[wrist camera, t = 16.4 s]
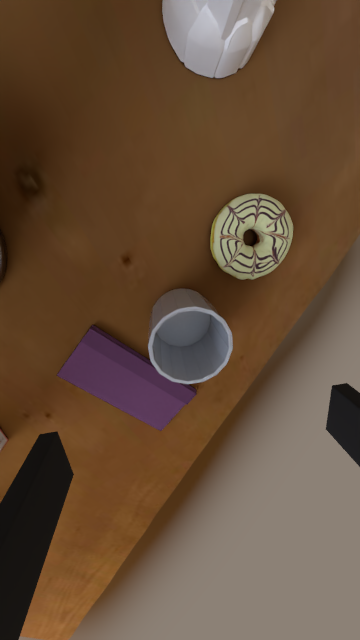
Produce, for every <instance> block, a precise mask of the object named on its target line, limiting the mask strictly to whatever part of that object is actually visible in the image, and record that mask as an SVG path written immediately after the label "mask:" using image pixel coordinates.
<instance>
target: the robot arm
mask: <svg viewBox="0 0 360 640" xmlns="http://www.w3.org/2000/svg"><path fill="white" fill-rule="evenodd" d="M6 265H7V250H6V244H5V240H4V237H3V234H2V232H1V230H0V282H1V280H2V278H3V276H4V273H5V270H6ZM326 426H327V427H326V430H327V431H328V432H329V433H330V434H331V435H332V436H333V438H334V439H335V440H336V441H337V442H338V443H339V444H340V445H341V446H342V448H343V449H344V450H345V451H346V452H347V453H348V454H349V455H350V456H351V458H352V459H353V460H354V461H355V462H356V463H357V464H358V465H359V466H360V393H359V392H358V391H356V390H355V389H354V388H352V387H351V386H350V385H349V384H347V383H346V384H340V385H333V386H332V390H331V397H330V405H329V412H328V418H327V425H326ZM73 475H74V474H73V472H72V469H71V466H70V464H69V461H68V458H67V456H66V453H65V450H64V448H63V445H62V443H61V440H60V437H59V435H58V432H51V433H45V434H40V435H39V437H38V439H37V440H36V442H35V444H34V446H33V447H32V449H31V451H30V453H29V454H28V456H27V458H26V460H25V461H24V463H23V465H22V467H21V468H20V470H19V472H18V474H17V475H16V477H15V479H14V481H13V482H12V484H11V486H10V488H9V489H8V491H7V493H6V495H5V496H4V498H3V500H2V502H1V503H0V640H18V639H19V636H20V633H21V630H22V627H23V624H24V621H25V618H26V615H27V612H28V609H29V606H30V603H31V600H32V597H33V594H34V591H35V588H36V585H37V582H38V579H39V576H40V573H41V570H42V567H43V564H44V561H45V558H46V555H47V552H48V549H49V546H50V543H51V540H52V538H53V535H54V532H55V529H56V526H57V523H58V520H59V517H60V514H61V511H62V508H63V505H64V502H65V499H66V496H67V493H68V490H69V487H70V484H71V481H72V478H73Z"/></svg>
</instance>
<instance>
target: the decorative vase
mask: <svg viewBox="0 0 360 640" xmlns="http://www.w3.org/2000/svg"><path fill="white" fill-rule="evenodd" d="M276 1H277V0H163V1H162V14H163V22H164V26H165V29H166V33H167V36H168V39H169V42H170V44H171V46H172V47H173V49H174V51H175V53H176V54H177V56H178V58H179V59H180V61H181V62H184V65H185V67H186V68H188V69H190V70H191V71H193V72H195V73H196V74H199V75H203V76H206V77H210V78H213V77H215V78H224V77H226V76H229V75H231V74H234V73H236V72H237V70H238V68H240V69H242V68H243V67H244V66H245V65H246V63H247V62H248V60H249V59H250V57H251V55H252V53H253V51H254V49H255V47H256V46H257V44H258V42H259V40H260V38H261V36H262V34H263V32H264V30H265V28H266V26H267V24H268V22H269V21H270V19H271V17H272V15H273V12H274V5H275V3H276Z"/></svg>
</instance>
